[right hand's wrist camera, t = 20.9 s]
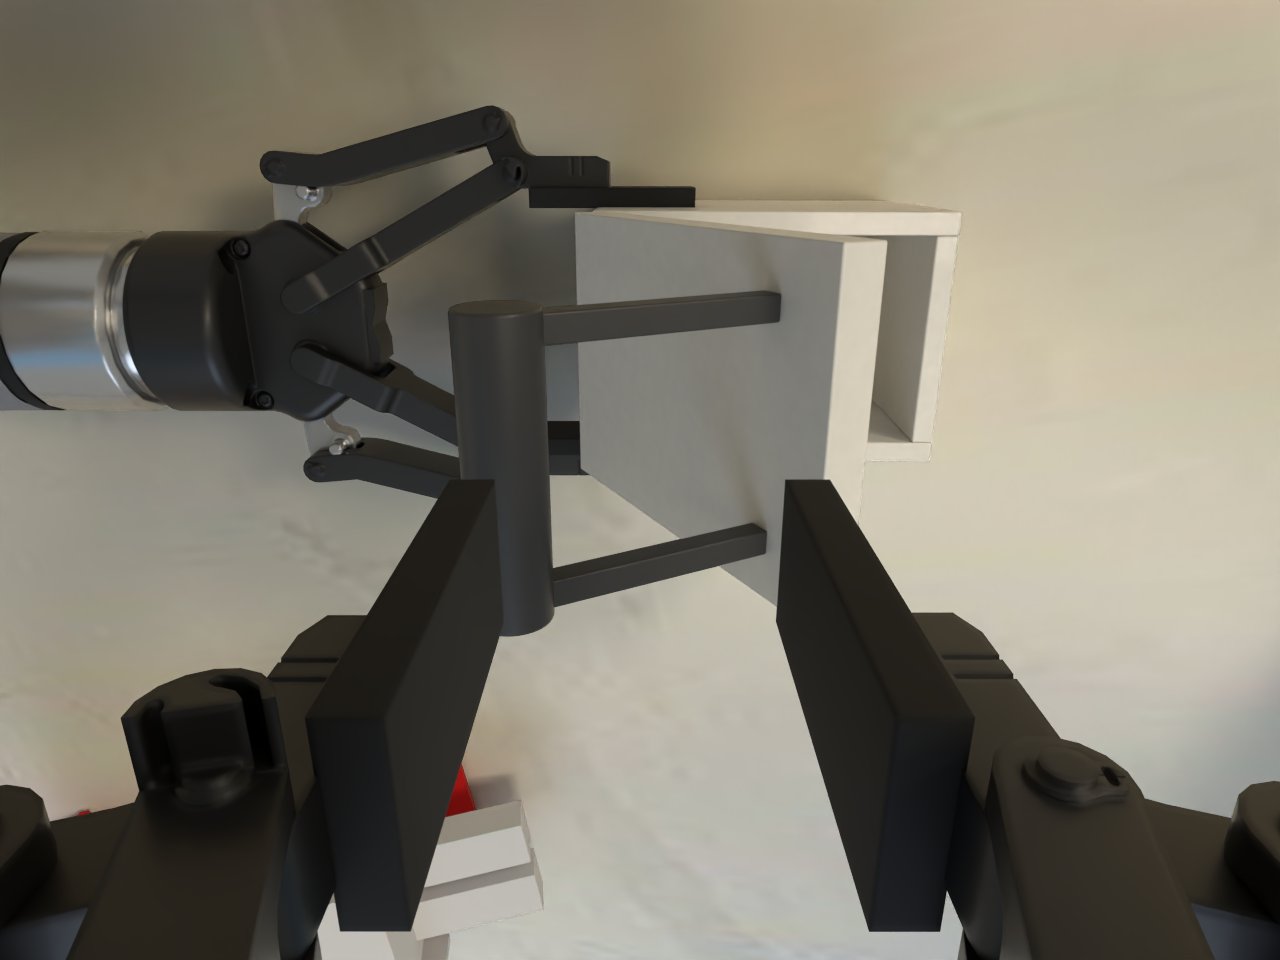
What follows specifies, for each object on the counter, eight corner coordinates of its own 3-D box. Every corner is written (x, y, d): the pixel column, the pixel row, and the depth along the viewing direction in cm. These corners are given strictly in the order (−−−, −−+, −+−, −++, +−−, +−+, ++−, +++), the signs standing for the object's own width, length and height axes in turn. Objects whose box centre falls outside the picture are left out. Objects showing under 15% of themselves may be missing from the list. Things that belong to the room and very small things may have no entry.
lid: (889, 240, 19) (484, 260, 14) (849, 620, 22) (512, 725, 18) (607, 211, 30) (336, 218, 26) (609, 463, 33) (370, 505, 29)
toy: (556, 1013, 46) (-9, 1157, 44) (547, 838, 59) (107, 943, 56) (508, 841, 42) (-118, 989, 40) (509, 692, 55) (33, 799, 52)
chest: (884, 200, 41) (963, 211, 30) (865, 393, 44) (930, 462, 34) (607, 199, 41) (591, 210, 30) (609, 391, 44) (596, 460, 34)
